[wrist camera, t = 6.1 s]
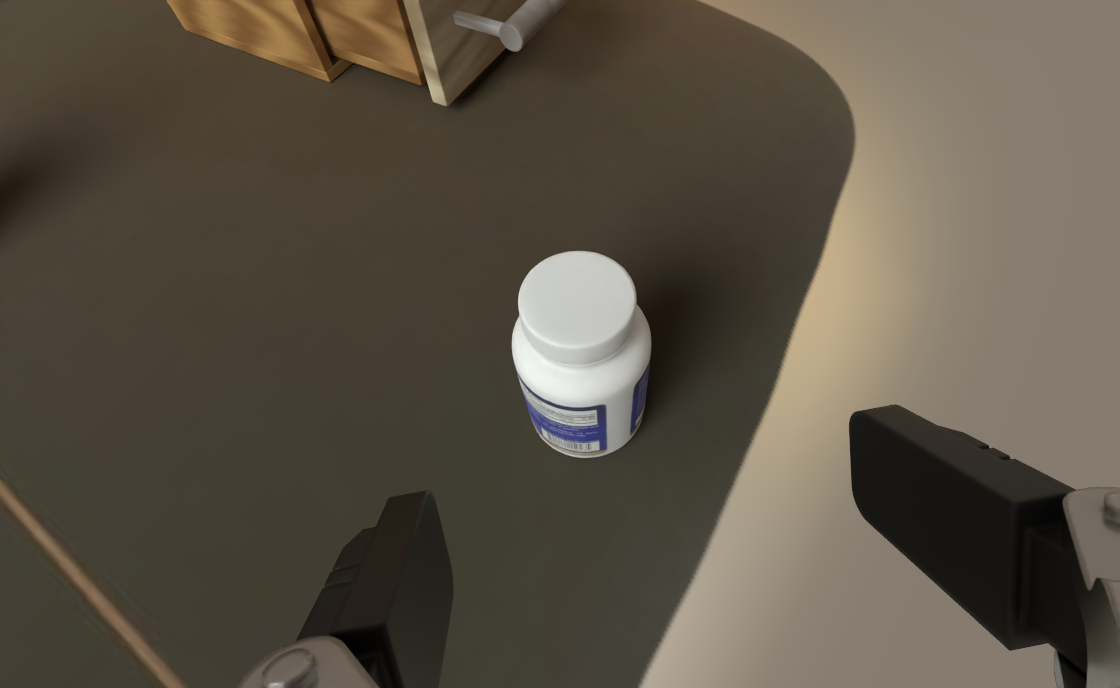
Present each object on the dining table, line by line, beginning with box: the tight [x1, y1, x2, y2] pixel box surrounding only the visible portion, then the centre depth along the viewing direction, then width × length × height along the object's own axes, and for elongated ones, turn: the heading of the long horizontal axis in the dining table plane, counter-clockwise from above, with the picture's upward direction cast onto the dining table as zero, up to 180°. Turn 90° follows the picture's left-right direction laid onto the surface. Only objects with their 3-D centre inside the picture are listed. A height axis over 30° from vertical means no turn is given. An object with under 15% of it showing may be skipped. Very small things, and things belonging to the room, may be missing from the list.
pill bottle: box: [512, 251, 651, 458], centre depth 23 cm, size 5×5×9 cm
